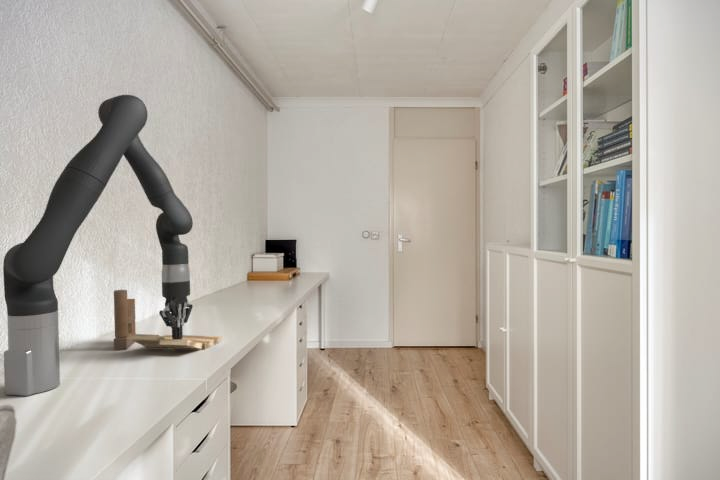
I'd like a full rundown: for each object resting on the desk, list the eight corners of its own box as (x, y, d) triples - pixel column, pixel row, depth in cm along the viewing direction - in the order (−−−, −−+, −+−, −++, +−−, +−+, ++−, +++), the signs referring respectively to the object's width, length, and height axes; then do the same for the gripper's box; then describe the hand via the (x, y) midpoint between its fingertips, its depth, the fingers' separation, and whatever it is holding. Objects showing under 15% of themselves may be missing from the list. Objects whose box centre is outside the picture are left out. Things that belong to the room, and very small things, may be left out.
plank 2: (186, 345, 124) (187, 339, 125) (159, 344, 126) (160, 339, 126) (201, 348, 132) (202, 343, 132) (175, 347, 133) (176, 342, 134)
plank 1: (156, 339, 127) (157, 334, 127) (129, 339, 128) (130, 334, 129) (171, 347, 133) (172, 342, 134) (145, 346, 135) (147, 341, 136)
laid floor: (204, 349, 132) (204, 343, 132) (145, 347, 136) (145, 341, 136) (221, 341, 142) (221, 336, 142) (165, 339, 146) (165, 334, 146)
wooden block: (136, 341, 144) (134, 286, 144) (126, 349, 134) (125, 290, 134) (123, 342, 143) (122, 287, 143) (113, 350, 133) (111, 291, 133)
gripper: (173, 282, 120) (175, 345, 120) (200, 277, 133) (201, 335, 133) (149, 282, 121) (150, 345, 121) (178, 277, 134) (179, 334, 134)
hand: (177, 339), depth 127 cm, fingers closed
